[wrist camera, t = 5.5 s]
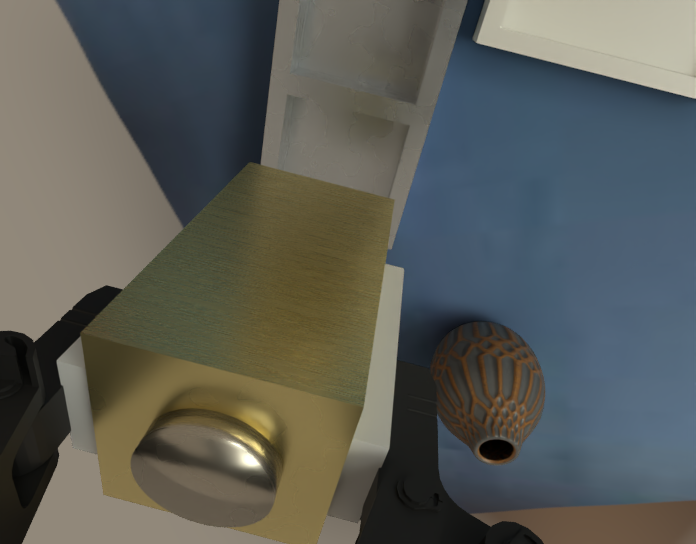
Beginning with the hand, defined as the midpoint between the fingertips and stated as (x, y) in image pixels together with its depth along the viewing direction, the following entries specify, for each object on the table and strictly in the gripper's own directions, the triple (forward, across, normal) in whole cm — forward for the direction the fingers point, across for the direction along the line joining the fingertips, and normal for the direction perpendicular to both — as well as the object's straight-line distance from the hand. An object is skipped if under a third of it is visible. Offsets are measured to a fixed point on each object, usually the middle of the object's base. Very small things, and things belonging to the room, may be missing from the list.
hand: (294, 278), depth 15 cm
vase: (+14, +12, -11) cm, 21 cm away
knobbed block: (+2, 0, 0) cm, 2 cm away
